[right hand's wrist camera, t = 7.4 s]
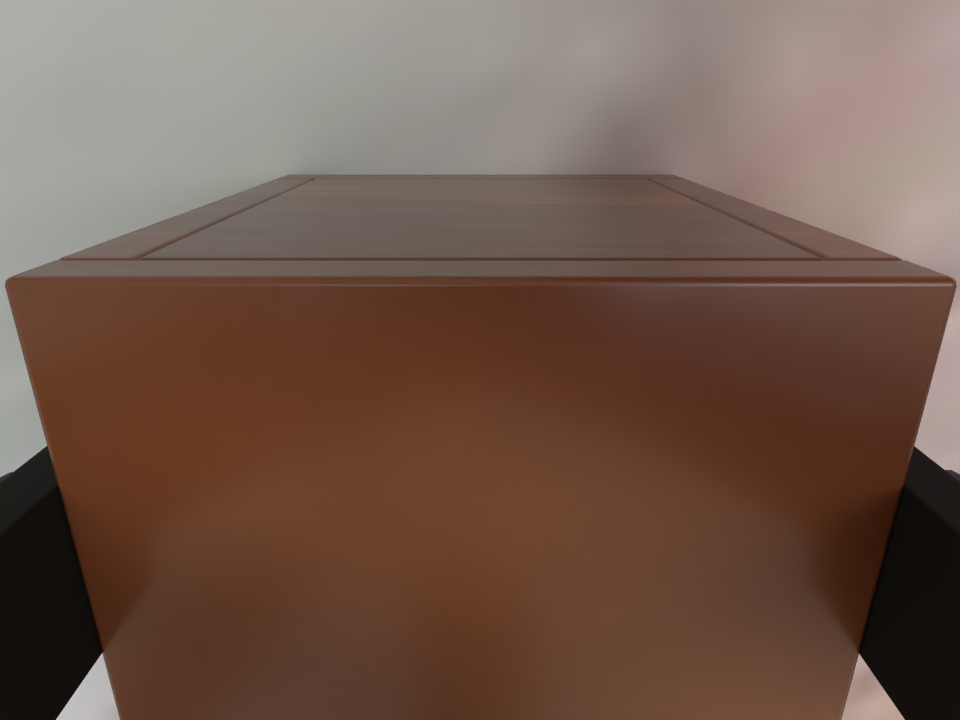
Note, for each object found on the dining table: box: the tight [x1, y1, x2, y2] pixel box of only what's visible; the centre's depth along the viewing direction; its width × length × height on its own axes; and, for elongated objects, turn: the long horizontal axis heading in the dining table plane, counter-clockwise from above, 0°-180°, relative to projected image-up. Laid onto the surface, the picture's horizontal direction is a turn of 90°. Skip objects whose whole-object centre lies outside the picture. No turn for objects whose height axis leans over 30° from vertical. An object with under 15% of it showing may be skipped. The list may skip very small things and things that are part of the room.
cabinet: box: [5, 175, 956, 720], centre depth 16 cm, size 20×11×12 cm, turn 0°
